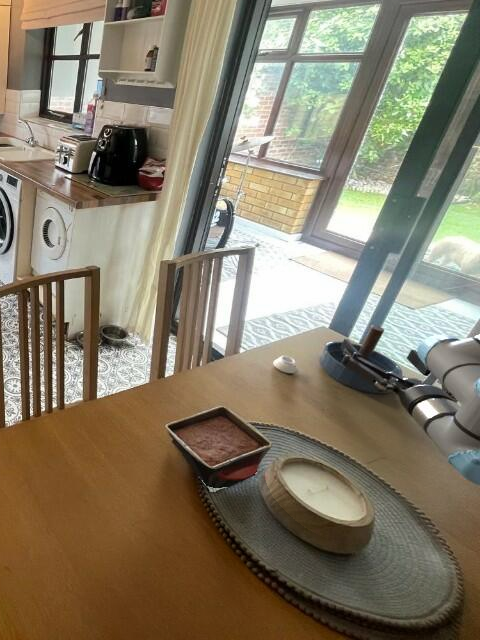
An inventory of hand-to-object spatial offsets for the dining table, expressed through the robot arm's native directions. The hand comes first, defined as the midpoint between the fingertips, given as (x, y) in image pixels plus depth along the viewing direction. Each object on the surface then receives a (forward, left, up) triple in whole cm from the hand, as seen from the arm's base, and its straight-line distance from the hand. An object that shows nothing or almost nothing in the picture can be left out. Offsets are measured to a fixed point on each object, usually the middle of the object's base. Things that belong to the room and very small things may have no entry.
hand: (376, 348), depth 102 cm
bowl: (+1, -2, -10) cm, 11 cm away
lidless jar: (+15, +8, -11) cm, 20 cm away
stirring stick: (+1, -2, -10) cm, 10 cm away
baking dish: (+21, +53, -11) cm, 58 cm away
